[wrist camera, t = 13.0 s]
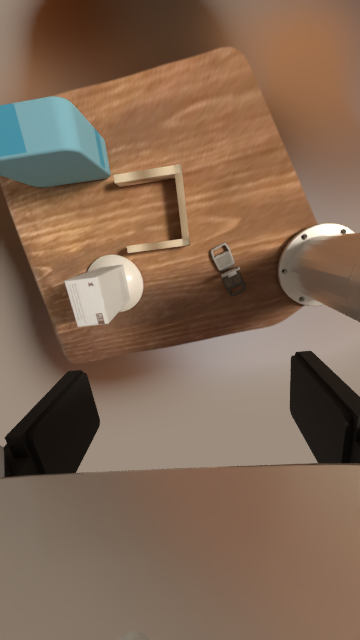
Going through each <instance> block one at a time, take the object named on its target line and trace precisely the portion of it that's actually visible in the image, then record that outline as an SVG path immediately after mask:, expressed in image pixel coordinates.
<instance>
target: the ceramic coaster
mask: <svg viewBox="0 0 360 640" xmlns="http://www.w3.org/2000/svg"><path fill="white" fill-rule="evenodd" d="M115 265H124V270H125V275H126V280H127V285H128V290H129V295H130V300H129V301H128V302H127V303H126V304H125V305H124V307H123V308H122V309H121V310H120V311H119V312H123V311H126V310H129V309H131V308H132V307H133V306H135V305H136V304H137V302H138V301H139V300H140V298H141V296H142V293H143V289H144V282H143V277H142V274H141V272H140V270H139V269H138V267H137V266H136V265H135V264H134V263H133V262H132V261H131V260H129V259H127V258H125V257H123V256H120V255H106V256H103V257H100V258H98V259H97V260H95V261H94V262H93V263H92V265H91V266H90V267H89V269H88V272H90V271H92V270H95V269H98V268H100V267H107V266H115Z"/></svg>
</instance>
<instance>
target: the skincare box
mask: <svg viewBox="0 0 360 640" xmlns="http://www.w3.org/2000/svg"><path fill="white" fill-rule="evenodd" d="M64 282H65V286H66V289H67V292H68V296H69V299H70V302H71V306H72V309H73V312H74V316H75V319H76V322H77V326H78V327H83V326H92V325H101V324H109V322H110V321H111V320H112V319H113V318H114V317H115V316H116V314H117V313H118V312H119V311H120V310H121V309H122V308H123V307H124V305H125V304H126V303H127V302H128V301H129V300H130V295H129V290H128V285H127V280H126V275H125V270H124V265H115V266H107V267H100V268H98V269H95V270H92V271H90V272H87V273H84V274H81V275H79V276H76V277H74V278H71V279H68V280H65V281H64Z"/></svg>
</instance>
